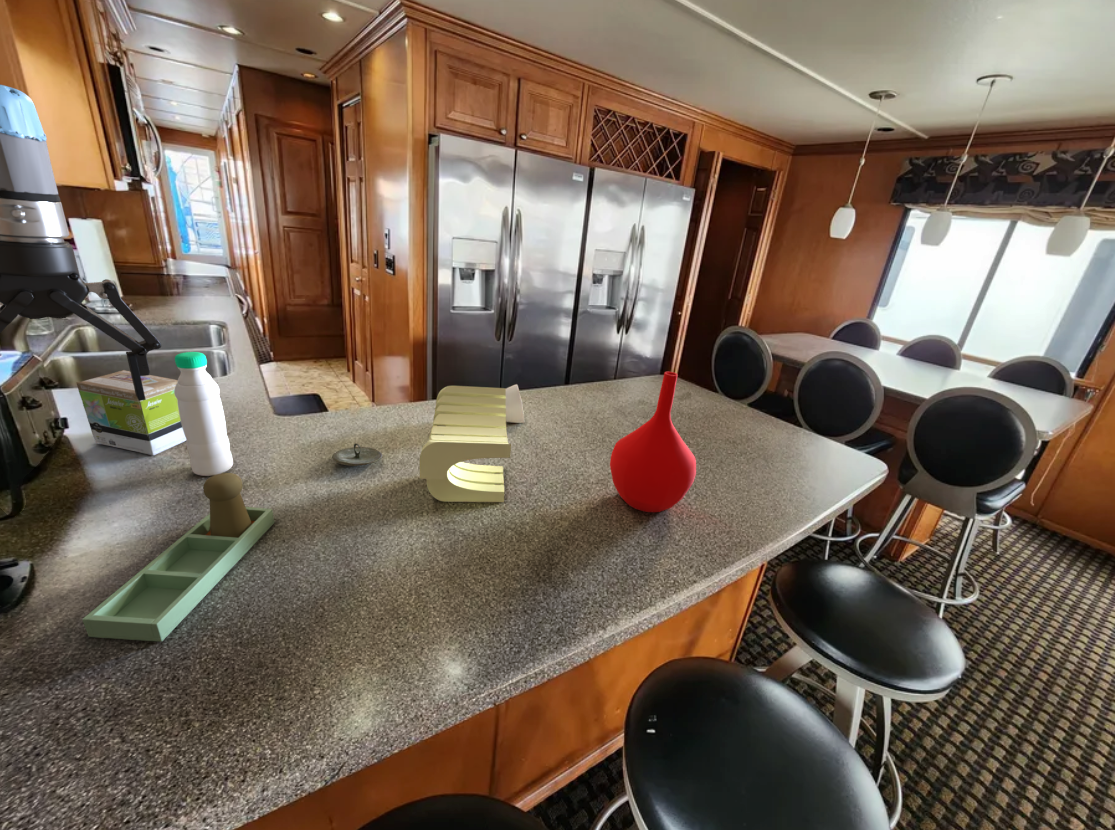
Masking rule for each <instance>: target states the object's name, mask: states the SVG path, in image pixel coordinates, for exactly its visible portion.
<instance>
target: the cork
mask: <svg viewBox="0 0 1115 830" xmlns="http://www.w3.org/2000/svg"><path fill="white" fill-rule="evenodd" d="M243 487H244V485H243V481H242V478H241V477H240V476H239V475H238V474H236V473H233V472H223V473H221V474H217V475H212V476H210V477H208V478H207V479H206V480H205V481H204V483H203V485H202V491H203V495H204V496H205V498H207V499H208V500H209V514H210V533H211V536H222V537H235V538H239V537H240V536H241V535H242V534H243V533H244V532H245V531H246V530H247V529H248V528H249V527H250V526H251V525H252V523H251V520H250V518H249V515H248V512H247V510H246V507H247V506H246V505H245V502H244V500H243V497H242V494H241V492H242V490H243Z"/></svg>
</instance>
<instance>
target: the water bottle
mask: <svg viewBox="0 0 1115 830" xmlns="http://www.w3.org/2000/svg"><path fill="white" fill-rule="evenodd" d="M174 362H175V363H174V364H175V366H176V367H177V369H178V370H179V371H180V373H179V376H178V378H177V380H178V382H177V384H176V386H175V389H174V394H175V397H176V398H177V401H178V409H179V415H180V420H181V424H182V428H183V431H184V435H185V437H186V449H187V453H188V455H189V462H190V467H191V471H192V473H193V474H195V475H198V476H202V477H209V476H210V477H212V476H214V475H217V474H221V473H227V472H228V471H229V470H230V469H232V467H233V465H234V460H233V459H234V458H233V455H232V451H231V445H230V439H229V437H228V435H227V424H226V417H225V412H224V407H223V402H222V399H221V397H220V387H219V385H218V383H217V382H216V381H215V380H214V379H213V377H212V376H211V374H209V373H208V372H207V370H206V368H207V367H208V366H207V364H208V360H207V356H206V355H205V354H204V353H202V352H199V351H185V352H180V353H178V354H176V355H175V356H174Z"/></svg>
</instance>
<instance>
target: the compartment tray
mask: <svg viewBox="0 0 1115 830" xmlns="http://www.w3.org/2000/svg"><path fill="white" fill-rule="evenodd" d="M245 507H246V510H247V512H248V515H249V518H250V520H251V523H252V525H251V526H250V527H249V528H248V529H247V530H246V531H245V532H244V533H243V534H242V535H241V536H240V537H239V538H235V537H222V536H211V533H210V513H208V514H207V515H206V516H205V517H204V518H202V519H201V520H200V521H198V522H197V523H196V524H195V525H194V526H193V527H192V528H190V529H189V530H188V531H187V532H185V534H183V535H182V536H180V537H179V538H178V539H177V540H176V541H174V543H172V544H171V545H170V546H168V547H167V548H166V549H165V550H164V551H162V552H161V553H160V554H159V555H158V556H156V557H155V558H154V559H152V561H151V562H149V563H148V564H147V565H146V566H145V567H143V568H142V569H141V570H139V571H138V572H137V573H136V574H135V575H134V576H132V577H131V578H130V579H129V580H128V581H126V582H125V583H124V584H122V585H121V586H120V587H119V588H118V589H116V591H114V592H113V593H112V594H110V595H109V596H108V597H107V598H106V599H105V600H103V601H102V602H101V603H100V604H99V605H97V606H96V607H95V608H94V609H93V610H91V611H90V612H89V613H88V614H87V615H85V616H84V617H83V618H82V619H81V620H82V623H83V626H84V628H85V631H86V634H87V636H88V638H100V639H101V638H102V639H115V640H116V639H117V640H128V641H129V640H131V641H145V642H161V643H162V642H163V641H164V640H165V639H166V638H167V637H168V636H169V635H170V634H171V633H172V632H173V631H174V630H175V628H177V626H178V625H179V624H180V623H181V622H182V621H183V620H184V619H185V618H186V617H188V615H189V614H190V613H192V611H193V609H194V608H196V607H197V606H198V604H199V603H200V602H201V601H202V600H203V599H204V598H205V597H206V596H207V595H208V594H209V593H210V592H211V590H213V589H214V587H215V586H216V585H217V584H219V582H220V581H221V580H222V579H223V578H224V577H225V576H226V575H227V574H228V573H229V572H230V571H231V569H232V568H233V567H235V565H236V564H237V563H238V562H239V561H240V560H241V559H242V558H243V557H244V556H245V555H246V554H247V553H248V552H249V550H250V549H251V548H252V547H253V546H254V545H255V544H256V543H257V542H258V541H259V540H260V539H261V538H262V537H263V536H264V535H265V534H266V533H267V531H269V529H270V528H271V527H272V526H273V525H274V524H275V518H274V511H273V508H265V507H252V506H245Z"/></svg>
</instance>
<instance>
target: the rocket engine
mask: <svg viewBox="0 0 1115 830" xmlns="http://www.w3.org/2000/svg"><path fill="white" fill-rule="evenodd" d="M505 398H506V407H505V408H506V423H516V424H525V414H524V413H525V412H524V406H523V401H522V396H521V392H520V389H519V385H518V384H517V383H516V384H513V385H511V386H508V387H506V396H505Z"/></svg>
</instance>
